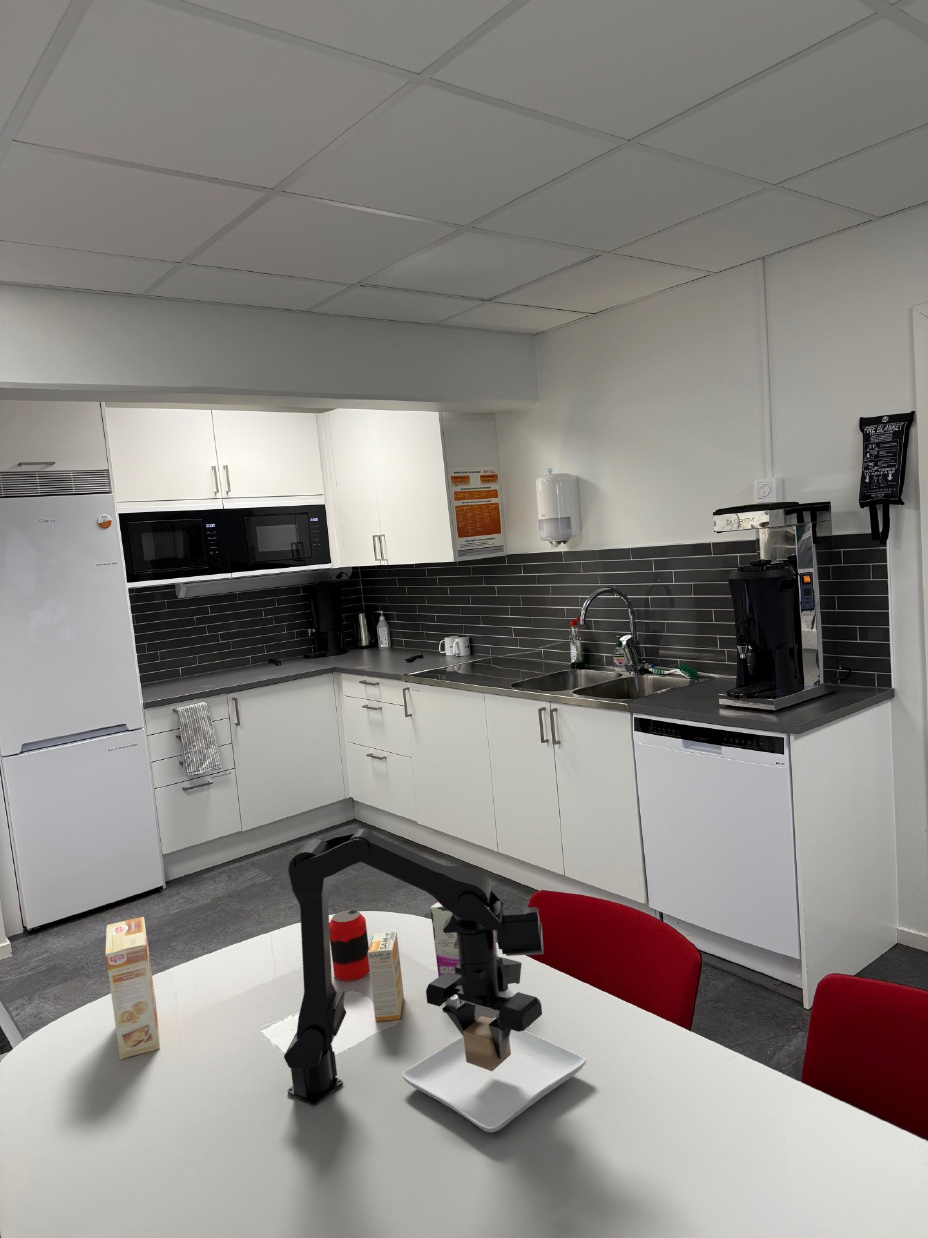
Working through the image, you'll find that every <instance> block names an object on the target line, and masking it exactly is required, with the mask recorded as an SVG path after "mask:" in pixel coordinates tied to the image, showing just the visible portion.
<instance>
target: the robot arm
mask: <svg viewBox="0 0 928 1238" xmlns="http://www.w3.org/2000/svg"><path fill="white" fill-rule="evenodd" d="M358 863H362V864H365V865H367V866H368V867H371V868H373V869H376V870H378V871H379V872H382V873H384V874H386V875H389V876H391V877H392V878H395V879H397V880H399V881H402V882H404V883H406V884H408V885H411V886H413V887H414V888H417V889H420V890H421V891H424V892H426V893H427V894H429V895H430V896H431V897H433V898H434V899H435V901H436V900H437V901H438V902H439V903H440V904H441V905H442V906H443V907H444V908H445V909H447V910H448V911H450V912H451V913H452V914H451V916H450V917H449V918H448V919H447V920H446V921H445V925H444V928H443V932H444V933H456V934H457V943H458V952H459V962H460V963H459V964H458V965H456V966H455V973H457V974H460V975H461V976H460V975H456V974H452V973H449V972H445V973H444V974H442V975H441V976H440V977H436V978H435V979H434V980H432V981H431V982H429V983H428V984H427V986H426V990H425V994H426V995H425V997H426V1004H429V1005H432V1006H435V1007H442V1005H444V1006H443V1007H442V1008H441V1009H442V1012H443V1013H445V1014H446V1015H447V1017H448V1018H449V1019H450V1020H451V1021H452V1023H453V1024H454V1026H456V1028H457V1030H458V1031H459V1032H460V1034H461V1036H463V1031H464V1030H465V1029H467V1028H468V1027H469V1026H470V1025H472V1024H473V1023H474V1022H475V1021H476V1012H475V1011H476V1007H480V1008H483V1009H486V1010H489V1011H490V1010H493V1011H495V1012H496V1013H495V1014H496V1015H495V1018H496V1019H494V1020H493V1021H492V1022H491V1023H489V1029H490V1032H491V1036H492V1039H493V1043H494V1047H495V1050H496V1053H497V1055H498V1058H499V1059H501V1058H503V1057H504V1055H505V1052H506V1048H507V1044H508V1040H509V1036H510V1032H511V1030H514V1031H517V1032H520V1031H524V1030H525V1031H526V1029H527V1028H529V1027H530V1025H533V1023H534V1022H535V1021H537V1019H539V1018H540V1017H541V1016H542V1015H543V1007H542V1003H541V1000H540V999H539V998H538V997H537V996H534V995H530V994H526V993H523V992H519V991H518V992H516V993H515V994H514V995H512V996H509V997H503V996H501V993H505V992H507V990H509V985H511V984H516V985H519V984H521V983H520V982H521V975H522V974H521V973H522V962H521V961H518V960H513V959H510V958H505V957H503V956H502V957H501V956H496V951H495V942H494V932H493V930H495V931H496V936H497V939H496V941H497V947H498V948H497V949H498V950H501V952H502V955H506V957H513V956H531V955H533V956H534V955H543V954H544V939H543V927H542V922H540V915H539V908H538V907H535V906H534V907H532V906H531V907H527V908H521V909H507V910H506V909H505V902H504V901H503V900H502V899H501V898H500V897H499V896H498V895H497V894H496V892H494V891H493V889H492V887H491V884H490V881H489V879H488V877H487V876H486V875H485V874H484V873H483V872H482V871H478V870H475V869H473V868H472V869H471V868H468V867H464V866H461V865H446V864H442V863H439V862H437V861H434V860H431V859H430V858H427V857H425V856H423V855H421V854H419V853H416V852H415V851H412V850H410V849H407V848H405V847H404V846H401V845H399V844H397V843H394V842H393V841H390V840H388V839H386V838H383V837H381V836H379V835H376V834H375V833H374V832H373V831H371V830H370V829H366V828H361V829H358V830H356V831H353V832H351V833H346V834H341V835H335V836H332V837H331V838H328V839H325V840H322V839H319V838H314V839H311V840H308V841H307V842H305V844H304V845H302V847H301V848H300V849H299V850H298V851H297V853H296V854H295V855H294V856H293V857H292V858H291V860H290V862H289V864H288V866H287V868H288V869H287V871H288V877H289V882H290V886H291V891H292V893H293V895H294V898H295V899H296V901H297V903H298V904H299V913H300V931H301V936H300V938H301V953H302V973H303V976H302V977H303V996H302V1000H301V1001H302V1002H301V1003H300V1004H301V1005H300V1011H299V1014H298V1018H297V1019H298V1020H297V1028H296V1032H295V1034H294V1035H293V1038H292V1040H291V1042H290V1044H289V1045H288V1048H287V1050H286V1051H285V1053H284V1056H283V1058H284V1061H285V1062H286V1065H287V1066H288V1068H289V1069H290V1072H291V1073H290V1074H291V1080H292V1081H291V1082H292V1086H291V1087H290V1088H288V1089H287V1094H288V1095H290V1097H294V1098H296V1099H298V1100H301V1101H302V1102H305V1103H306V1104H309V1105H311V1106H316V1105H317V1104H318V1103H320V1102H322V1100H324V1099H326V1098H327V1097H328V1096H329V1095H330V1094H332V1093H333V1092H335V1091H336V1090H337V1089H338V1088H340V1087H341V1086H343V1084H344V1081H343V1079H340V1078H339V1077H337V1076H338V1071H337V1062H336V1053H335V1051H334V1050H333V1044H332V1043H333V1041H334V1038H336V1037H337V1035H338V1033H339V1031H340V1028H341V1026H342V1024H343V1021H344V1019H345V1017H346V1015H347V1014H348V1013H347V1011H346V1010H347V1009H346V1008H345V1003H344V1002H345V995H346V992H345V991H344V990H341V991H337V990H336V988H335V986H334V984H333V980H332V979H333V978H332V977H333V976H332V953H331V945H330V932H329V923H330V914H329V913H330V911H329V895H330V892H331V891H330V890H331V887H332V882H333V879H334V875H335V874H337V873H340V872H341V871H343V870H345V869H347V868H349V867H351V866H353V865H356V864H358ZM488 908H489V909H488ZM463 1037H464V1036H463Z"/></svg>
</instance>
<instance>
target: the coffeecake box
mask: <svg viewBox="0 0 928 1238" xmlns="http://www.w3.org/2000/svg"><path fill="white" fill-rule="evenodd" d="M145 923H146V920H145V917H144V916H139V917H135V918H131V919H126V920H123V921H118V922H114V923H109V924H107V925H106V930H105V931H106V933H105V958H106V964H107V973H108V981H109V988H110V995H111V1001H112V1011H113V1016H114V1017H113V1018H114V1024H115V1025H114V1026H115V1030H116V1031H115V1032H116V1038H117V1040H116V1041H117V1045H118V1056H119V1060H120V1061H121V1060H123V1059H127V1058H131V1057H134V1056H138V1055H141V1054H145V1053H150V1052H153V1051H156V1050H157V1051H158V1050H159V1049H161V1045H160V1044H161V1043H160V1041H161V1040H160V1032H159V1030H160V1029H159V1022H158V1011H157V1009H158V1008H157V1001H156V994H155V989H154V988H155V986H154V980H153V971H152V967H151V966H152V965H151V957H150V949H149V942H148V937H147V930H146V924H145Z"/></svg>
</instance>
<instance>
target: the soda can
mask: <svg viewBox="0 0 928 1238" xmlns="http://www.w3.org/2000/svg"><path fill="white" fill-rule="evenodd" d="M329 932H330V954H331V962H332V968H333V976H334V977H335V978H336V979H337V980H339V981H341V982H354V981H357V980H361V979H363V978H366V977H367V976H368V975H369V974H370V970H369V961H368V950H369V946H370V944H369V939H368V928H367V921H366V917H365V916H364V915H363V914H362V913H360V911H358V910H354V909H350V910H349V909H348V910H347V909H346V910H343V911H339V912H337V913H335V914H333V916H332V918H331V919H330V920H329Z"/></svg>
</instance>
